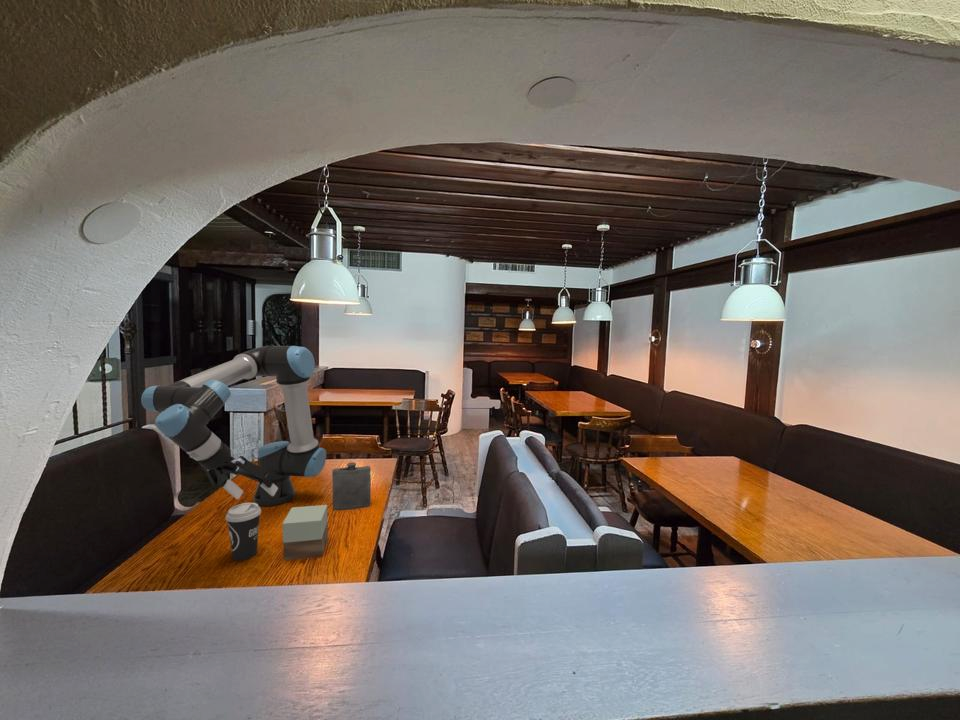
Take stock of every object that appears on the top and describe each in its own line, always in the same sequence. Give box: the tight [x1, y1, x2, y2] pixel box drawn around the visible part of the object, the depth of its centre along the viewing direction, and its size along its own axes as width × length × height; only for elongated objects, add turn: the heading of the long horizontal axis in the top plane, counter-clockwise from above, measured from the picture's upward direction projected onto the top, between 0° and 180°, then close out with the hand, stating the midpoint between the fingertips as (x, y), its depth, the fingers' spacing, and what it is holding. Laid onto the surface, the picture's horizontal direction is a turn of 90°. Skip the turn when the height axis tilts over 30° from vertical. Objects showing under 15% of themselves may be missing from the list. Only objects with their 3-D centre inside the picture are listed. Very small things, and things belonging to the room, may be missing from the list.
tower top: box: [282, 504, 328, 544], centre depth 124 cm, size 11×11×6 cm
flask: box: [331, 462, 372, 511], centre depth 154 cm, size 4×14×18 cm, turn 106°
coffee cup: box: [224, 502, 262, 562], centre depth 121 cm, size 10×10×15 cm
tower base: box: [282, 521, 329, 561], centre depth 125 cm, size 11×11×6 cm
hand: (257, 493), depth 120 cm, fingers open, 13 cm apart
